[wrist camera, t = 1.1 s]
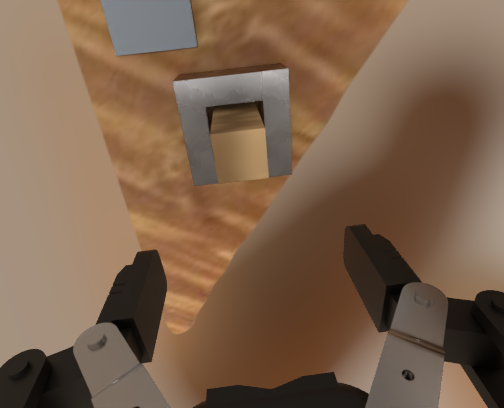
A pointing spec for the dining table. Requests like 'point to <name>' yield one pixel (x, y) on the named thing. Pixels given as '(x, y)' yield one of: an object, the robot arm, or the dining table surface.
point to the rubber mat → (149, 25)
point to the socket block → (231, 92)
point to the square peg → (239, 143)
